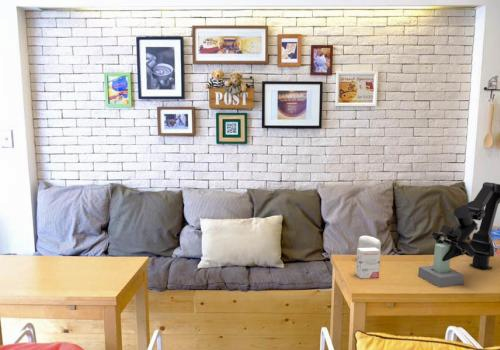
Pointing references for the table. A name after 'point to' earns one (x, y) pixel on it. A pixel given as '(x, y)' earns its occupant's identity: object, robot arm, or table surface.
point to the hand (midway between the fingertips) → (439, 259)
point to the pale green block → (439, 253)
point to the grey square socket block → (441, 277)
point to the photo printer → (369, 242)
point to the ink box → (368, 262)
